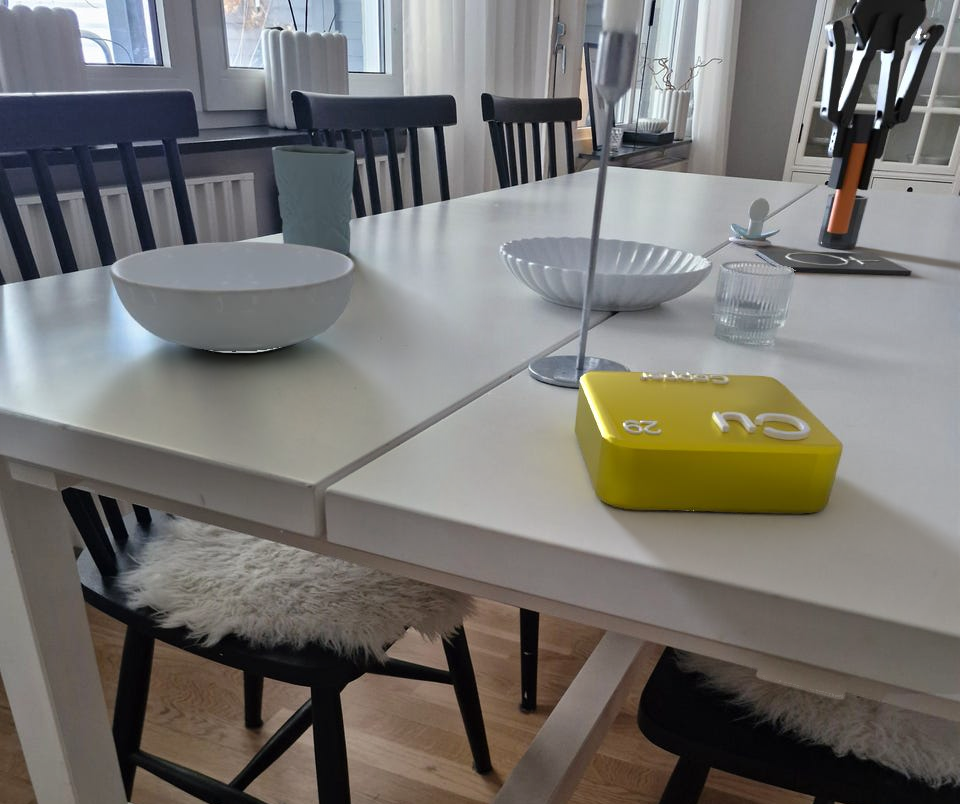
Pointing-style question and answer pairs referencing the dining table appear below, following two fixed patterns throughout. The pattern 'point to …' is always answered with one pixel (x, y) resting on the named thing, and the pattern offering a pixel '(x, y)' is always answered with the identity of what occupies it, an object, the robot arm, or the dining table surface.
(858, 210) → the pen pot
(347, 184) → the green vase
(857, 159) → the marker
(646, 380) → the element tile
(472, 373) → the dining table surface
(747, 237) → the pacifier
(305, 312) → the serving bowl
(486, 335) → the dining table surface
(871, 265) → the slate board
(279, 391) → the dining table surface
